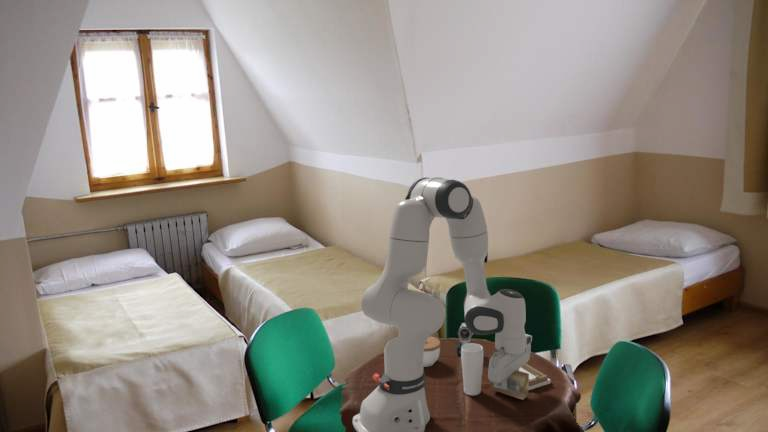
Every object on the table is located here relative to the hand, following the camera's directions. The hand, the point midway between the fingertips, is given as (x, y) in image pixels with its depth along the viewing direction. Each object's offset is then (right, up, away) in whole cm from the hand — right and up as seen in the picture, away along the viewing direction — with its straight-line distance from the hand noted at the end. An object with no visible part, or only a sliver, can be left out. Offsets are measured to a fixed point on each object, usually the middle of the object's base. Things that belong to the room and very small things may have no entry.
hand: (509, 385), depth 186 cm
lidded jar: (-24, +1, +25) cm, 34 cm away
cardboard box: (0, -2, +1) cm, 2 cm away
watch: (-9, +3, +31) cm, 32 cm away
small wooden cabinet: (+7, -1, +12) cm, 14 cm away
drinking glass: (-11, -3, +4) cm, 12 cm away
